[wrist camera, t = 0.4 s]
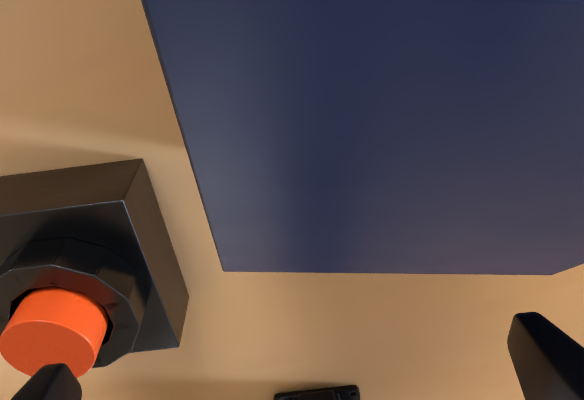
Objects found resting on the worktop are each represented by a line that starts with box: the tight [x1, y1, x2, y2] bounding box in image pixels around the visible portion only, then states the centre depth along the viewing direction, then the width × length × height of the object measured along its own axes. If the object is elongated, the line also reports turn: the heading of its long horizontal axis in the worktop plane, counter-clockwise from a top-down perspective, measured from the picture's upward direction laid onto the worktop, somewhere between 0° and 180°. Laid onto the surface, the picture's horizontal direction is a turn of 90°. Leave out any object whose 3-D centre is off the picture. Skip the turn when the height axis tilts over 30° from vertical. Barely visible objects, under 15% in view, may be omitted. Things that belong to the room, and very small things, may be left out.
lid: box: [141, 0, 584, 275], centre depth 11 cm, size 13×13×1 cm
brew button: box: [0, 287, 108, 378], centre depth 21 cm, size 4×4×2 cm
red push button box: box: [0, 159, 189, 368], centre depth 24 cm, size 10×8×6 cm
